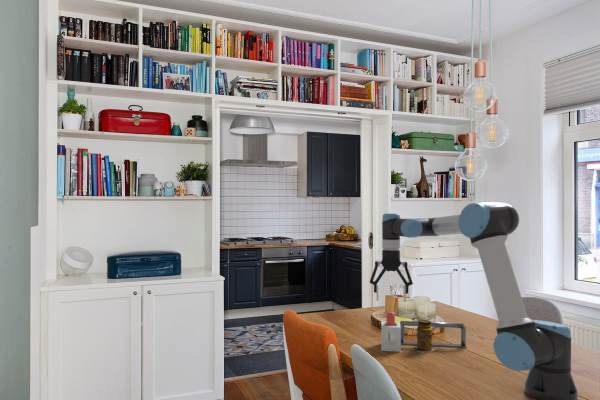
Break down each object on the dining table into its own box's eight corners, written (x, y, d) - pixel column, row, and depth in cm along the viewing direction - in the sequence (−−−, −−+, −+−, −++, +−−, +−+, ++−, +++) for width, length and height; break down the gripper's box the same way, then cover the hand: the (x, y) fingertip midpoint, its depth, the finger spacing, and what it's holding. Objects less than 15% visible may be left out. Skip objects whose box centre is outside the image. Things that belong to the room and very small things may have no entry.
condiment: (436, 350, 200) (436, 321, 201) (422, 353, 196) (422, 324, 196) (422, 345, 207) (422, 318, 207) (409, 349, 202) (409, 320, 202)
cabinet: (400, 352, 197) (400, 328, 197) (381, 351, 199) (381, 327, 199) (399, 344, 208) (399, 321, 208) (381, 343, 209) (381, 321, 209)
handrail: (465, 345, 206) (465, 322, 207) (466, 347, 204) (466, 324, 204) (399, 342, 211) (399, 319, 211) (399, 344, 208) (399, 321, 208)
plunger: (395, 334, 202) (395, 313, 202) (386, 334, 202) (386, 313, 202) (394, 332, 205) (394, 311, 205) (386, 332, 206) (386, 311, 206)
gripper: (418, 249, 206) (418, 300, 206) (364, 248, 210) (364, 298, 209) (419, 250, 198) (419, 303, 198) (363, 249, 202) (363, 301, 202)
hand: (390, 300), depth 204 cm, fingers open, 11 cm apart
